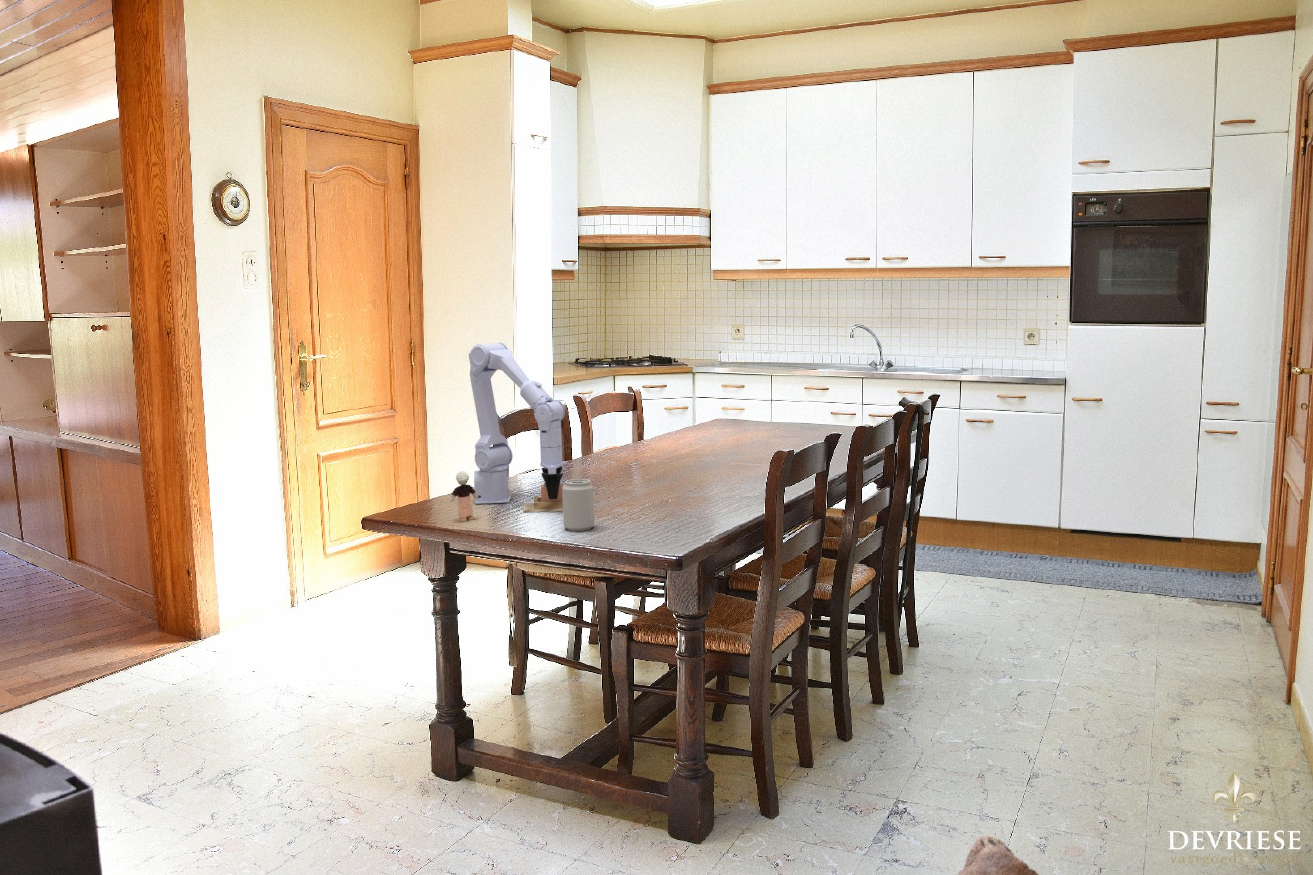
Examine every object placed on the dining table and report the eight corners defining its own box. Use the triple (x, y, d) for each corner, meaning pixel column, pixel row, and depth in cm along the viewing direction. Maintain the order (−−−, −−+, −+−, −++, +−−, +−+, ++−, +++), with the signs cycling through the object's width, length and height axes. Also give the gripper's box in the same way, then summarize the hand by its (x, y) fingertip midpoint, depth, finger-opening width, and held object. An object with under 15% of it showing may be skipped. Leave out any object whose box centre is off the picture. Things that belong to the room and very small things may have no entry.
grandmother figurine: (470, 516, 268) (468, 468, 267) (480, 518, 266) (478, 469, 264) (447, 521, 263) (445, 473, 261) (457, 523, 260) (455, 474, 258)
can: (594, 524, 255) (593, 477, 254) (594, 531, 248) (592, 482, 246) (564, 525, 255) (562, 478, 254) (563, 532, 248) (561, 483, 246)
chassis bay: (523, 512, 271) (522, 503, 271) (523, 505, 280) (523, 497, 280) (583, 509, 273) (583, 500, 273) (582, 503, 282) (582, 494, 282)
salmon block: (541, 507, 274) (540, 485, 273) (541, 504, 278) (540, 482, 277) (564, 506, 275) (563, 484, 274) (563, 503, 279) (563, 481, 278)
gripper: (566, 449, 268) (568, 500, 269) (565, 441, 282) (567, 490, 284) (539, 450, 267) (541, 501, 269) (539, 442, 281) (541, 491, 283)
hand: (553, 496), depth 276 cm, fingers open, 7 cm apart
